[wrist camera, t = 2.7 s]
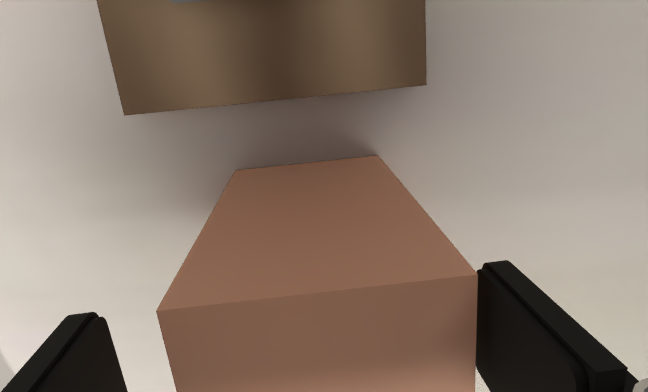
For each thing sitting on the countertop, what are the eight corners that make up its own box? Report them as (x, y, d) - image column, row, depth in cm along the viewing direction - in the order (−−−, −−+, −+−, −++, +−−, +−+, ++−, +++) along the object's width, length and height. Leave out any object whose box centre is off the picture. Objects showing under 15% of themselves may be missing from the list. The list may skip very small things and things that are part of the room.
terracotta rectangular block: (378, 155, 21) (478, 274, 9) (381, 221, 22) (474, 401, 10) (235, 170, 20) (155, 310, 9) (246, 236, 21) (188, 435, 10)
